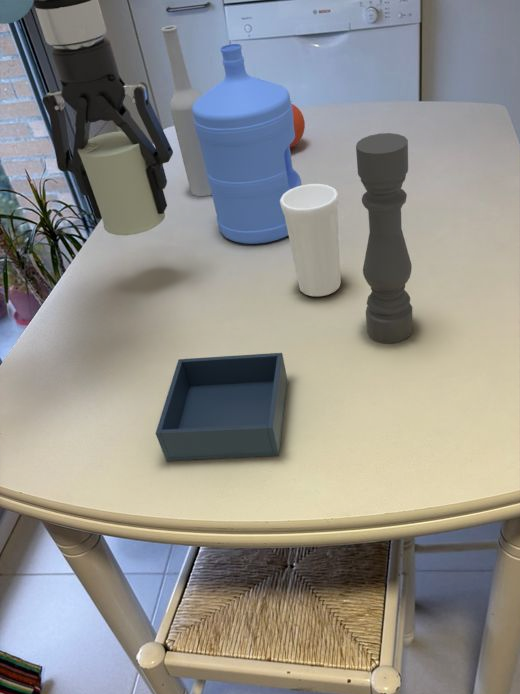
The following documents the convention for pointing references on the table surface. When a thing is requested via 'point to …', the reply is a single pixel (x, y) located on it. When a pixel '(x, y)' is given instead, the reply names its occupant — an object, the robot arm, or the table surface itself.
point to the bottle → (185, 116)
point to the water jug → (247, 151)
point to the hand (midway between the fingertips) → (131, 211)
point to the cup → (314, 236)
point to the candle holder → (385, 236)
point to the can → (120, 184)
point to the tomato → (297, 125)
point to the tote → (224, 408)
